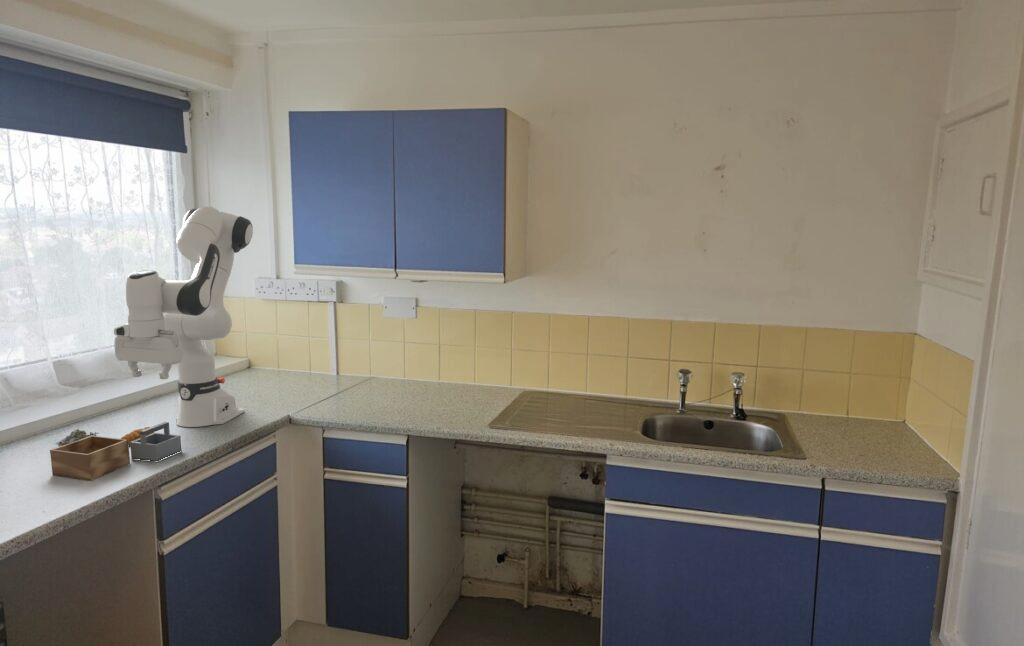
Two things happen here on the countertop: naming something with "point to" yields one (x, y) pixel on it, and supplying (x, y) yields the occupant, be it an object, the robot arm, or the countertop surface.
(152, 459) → the small crate
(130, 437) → the pastry
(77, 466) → the big crate
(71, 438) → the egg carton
